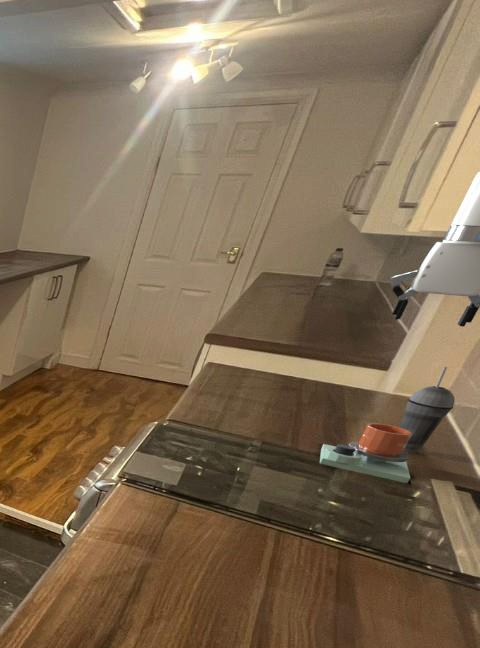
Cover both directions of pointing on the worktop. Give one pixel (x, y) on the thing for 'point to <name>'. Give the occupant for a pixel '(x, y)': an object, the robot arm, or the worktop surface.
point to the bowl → (384, 439)
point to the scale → (364, 465)
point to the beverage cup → (426, 413)
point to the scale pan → (378, 455)
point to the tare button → (345, 449)
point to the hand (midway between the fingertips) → (427, 322)
